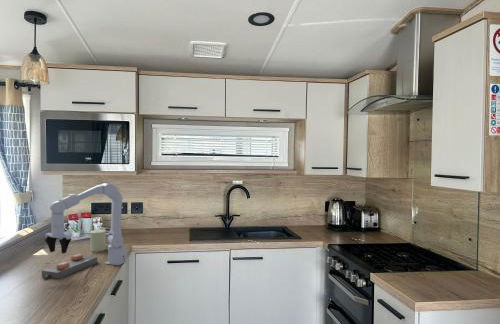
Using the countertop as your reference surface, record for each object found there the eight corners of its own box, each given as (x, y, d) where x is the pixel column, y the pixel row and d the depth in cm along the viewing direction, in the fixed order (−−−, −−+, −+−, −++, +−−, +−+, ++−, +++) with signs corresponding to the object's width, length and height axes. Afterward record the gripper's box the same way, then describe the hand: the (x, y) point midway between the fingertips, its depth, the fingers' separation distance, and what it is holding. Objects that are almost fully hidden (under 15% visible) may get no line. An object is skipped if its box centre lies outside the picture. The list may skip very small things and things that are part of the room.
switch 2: (83, 257, 187) (83, 253, 187) (75, 260, 183) (75, 256, 183) (78, 257, 188) (78, 253, 188) (71, 259, 184) (71, 255, 184)
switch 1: (69, 265, 174) (69, 261, 174) (61, 268, 169) (61, 264, 169) (64, 265, 175) (64, 261, 175) (56, 268, 170) (56, 264, 170)
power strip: (97, 262, 189) (97, 257, 189) (52, 281, 162) (52, 274, 162) (83, 260, 192) (82, 255, 192) (36, 278, 165) (36, 272, 165)
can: (88, 252, 209) (88, 232, 209) (91, 248, 218) (91, 229, 218) (104, 251, 212) (104, 231, 212) (107, 247, 221) (106, 228, 220)
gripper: (39, 226, 171) (40, 253, 171) (62, 228, 166) (62, 255, 167) (51, 223, 177) (52, 249, 178) (74, 225, 173) (74, 251, 173)
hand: (58, 252), depth 173 cm, fingers open, 7 cm apart
